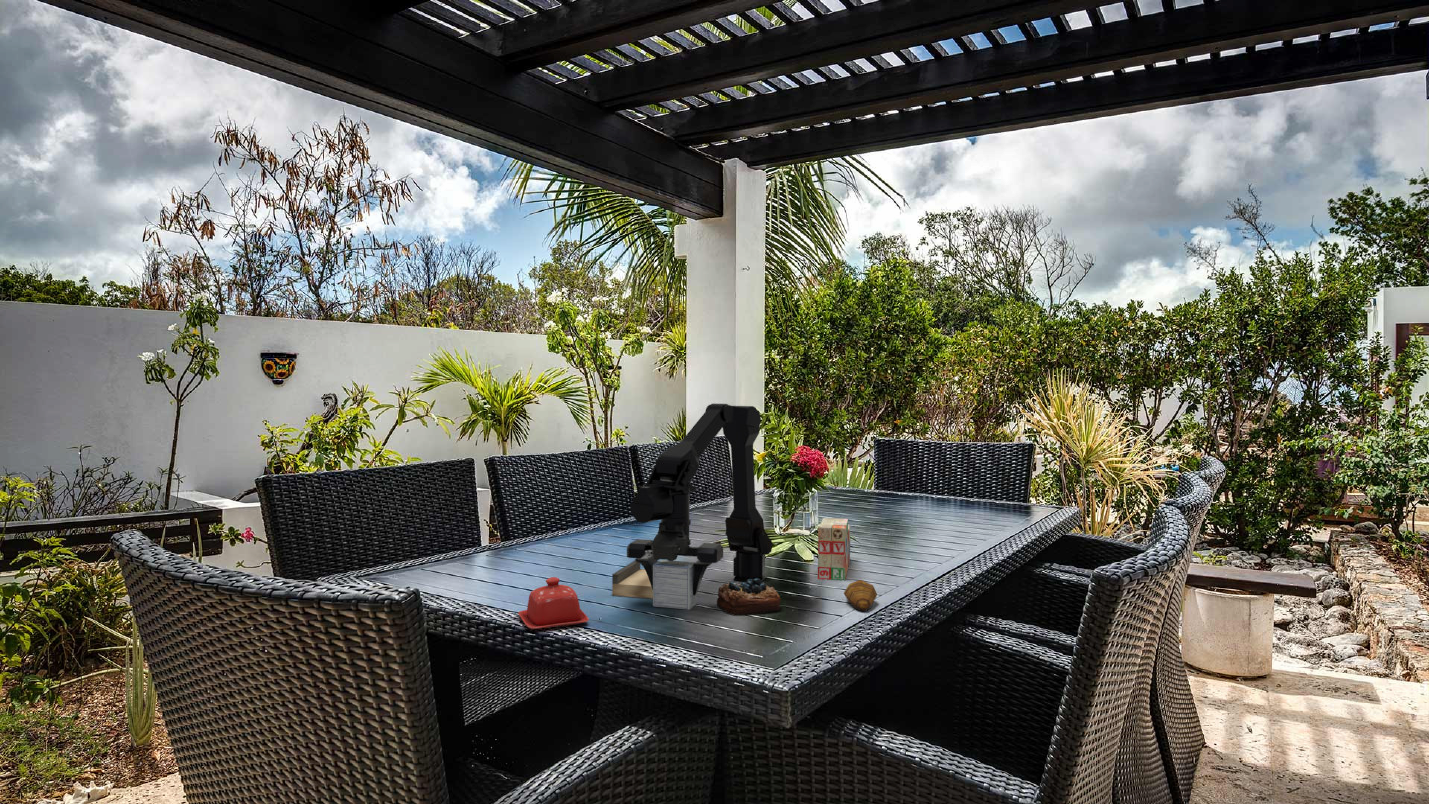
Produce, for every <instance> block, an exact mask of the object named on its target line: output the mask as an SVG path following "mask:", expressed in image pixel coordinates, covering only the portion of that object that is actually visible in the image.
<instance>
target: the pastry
mask: <svg viewBox="0 0 1429 804" xmlns="http://www.w3.org/2000/svg"><path fill="white" fill-rule="evenodd" d="M781 600H782V599H781V596H780V595H779V593H778V592H777V590H776V589H775V588H774V587H773V586H771V587H770V586H768V585H767V584H766V583H765V582H763V581H762V582H761V581H760V580H759V579H757V578H756V579H753V580H752V579H748V580H747V581H742V582H741V583H740V584H739V583H734V581H730V582H728V583H724V584H722V586H719V587H718V591H717V599H716V604H717V606H718V607H719V608H720V609H721V610H722V611H725V612H726V613H728V614H730V615H731V616H747V615H759V614H766V613H767V614H768V613H775V612H780V611H781V603H782V601H781Z"/></svg>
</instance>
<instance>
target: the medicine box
mask: <svg viewBox="0 0 1429 804" xmlns="http://www.w3.org/2000/svg"><path fill="white" fill-rule="evenodd" d="M695 562H696V561H694V562H692V561H682V560H673V561H668V560H663V559H659V560H657V562H656V563H655V564H654V565H653V599H652V606H653V607H656V608H657V607H658V608H670V609H677V610H678V609H679V610H691V609H692V608H693V607H695V606H696V605H697V594H698V593H697V594H696V595H693V583H694V572H695V569H694V563H695Z"/></svg>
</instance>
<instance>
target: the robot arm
mask: <svg viewBox="0 0 1429 804" xmlns="http://www.w3.org/2000/svg"><path fill="white" fill-rule="evenodd" d="M701 415H702V416H701V417H700V418H699V419H698V420H697V421H696V423H694V425H693V426H692V427H691V429H690V430H689V431H688V432H687V434H686V435H684V437H683V439H682V440H681V441H680V442H678V443H677V444H674V445H672V446H670V447H668V448H667V449H665V450H664V451H663V452H662V453H660V455H659V456H658V457H657V458H656V461H655V464H654V466H653V469H652V471H651V472H650V475H649V477H648V479H647V481H646V484H645V486H639V488H638V493H637V494H636V495H635V496H633V499H632V501H631V503H630V511H631V515H632V516H633V518H634V519H635V520H636V521H637V522H638V523H640V524H647V523H651V522H655V521H659V520H660V522H659V523H658V531H657V534H655V536H654V538H653V539H640V538H637V539H636V540H633V541H631V542H630V543H629V544H628V545H627V548H626V558H628V559H634V561H636V562H639V563H640V566H642V567H643V568H644V569H645V571H646V573H647V575H648V578H649V581H650V584H651V587H652V590H653V565H654V564H655V563H656V562H658V561H660V560H668V561H677V558H678V556H680V557H681V556H682V557H696V559H697V560H696V561H694V562H695V563H694V569H695V572H694V583H693V595H696V594H698V591H699V589H700V586H701V584H702V580H703V577H704V575H705V572H706V570H707V568H708V567H710V566H711V565H712V564H717V563H718V562H719V561H721V560H722V559H723V558H724V546H722V544H721V543H711V542H703V543H702V544H700V546H690V545H691V543H692V542H691V541H692V540H691V538H690V525H691V520H692V519H691V518H690V493H695V492H696V489H697V488H696V487H695V486H694V485H693V484H691V481H692V480H693V479H694V476H695V475H696V473H697V471H698V469H699V468H700V457H701V456H702V454H703V453H704V452H705V451H706V449H707V448H708V447H709V445H710V444H711V443H712V441H713V440H714V439H715V438H716V436H717V435H718V434H719V432H720V431H721V430H722V434H723V435H724V437H725V439H726V440H727V442H728V444H730V451H731V452H730V453H731V454H730V455H731V474H732V475H731V476H732V477H731V478H732V497H733V500H732V501H733V510H732V512H730V515H729V516H727V517H726V518H725V521H724V522H725V534H724V535H725V536H726V539H727V544H728V548H729V551H731V552H735V557H734V558H733V559H732V561H733V563H732V564H733V569H732V570H733V572H732V573H733V576H734V577H733V581H740V582H747V580H748V579H752V580H753V579H756V578H757V579H759V580H760V581H761V582H763V581H764V580H765V579H766V577H767V576H768V575H767V573H766V555H770V553H772V550H773V545H774V544H773V541H772V539H771V538H770V537H769V534H767V532H766V530H765V524H764V522H765V521H764V519H763V517H762V515H761V514H760V512H759V510H758V508H757V507H756V484H755V483H756V482H755V463H754V461H755V460H754V443H755V441H756V440H757V438H758V436H759V435H760V430H761V413H760V411H759V410H758V409H757V408H756V406H753V405H730V404H728V403H710V404H708V405H707V406H706V408H705V412H704V413H703V414H701Z"/></svg>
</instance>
